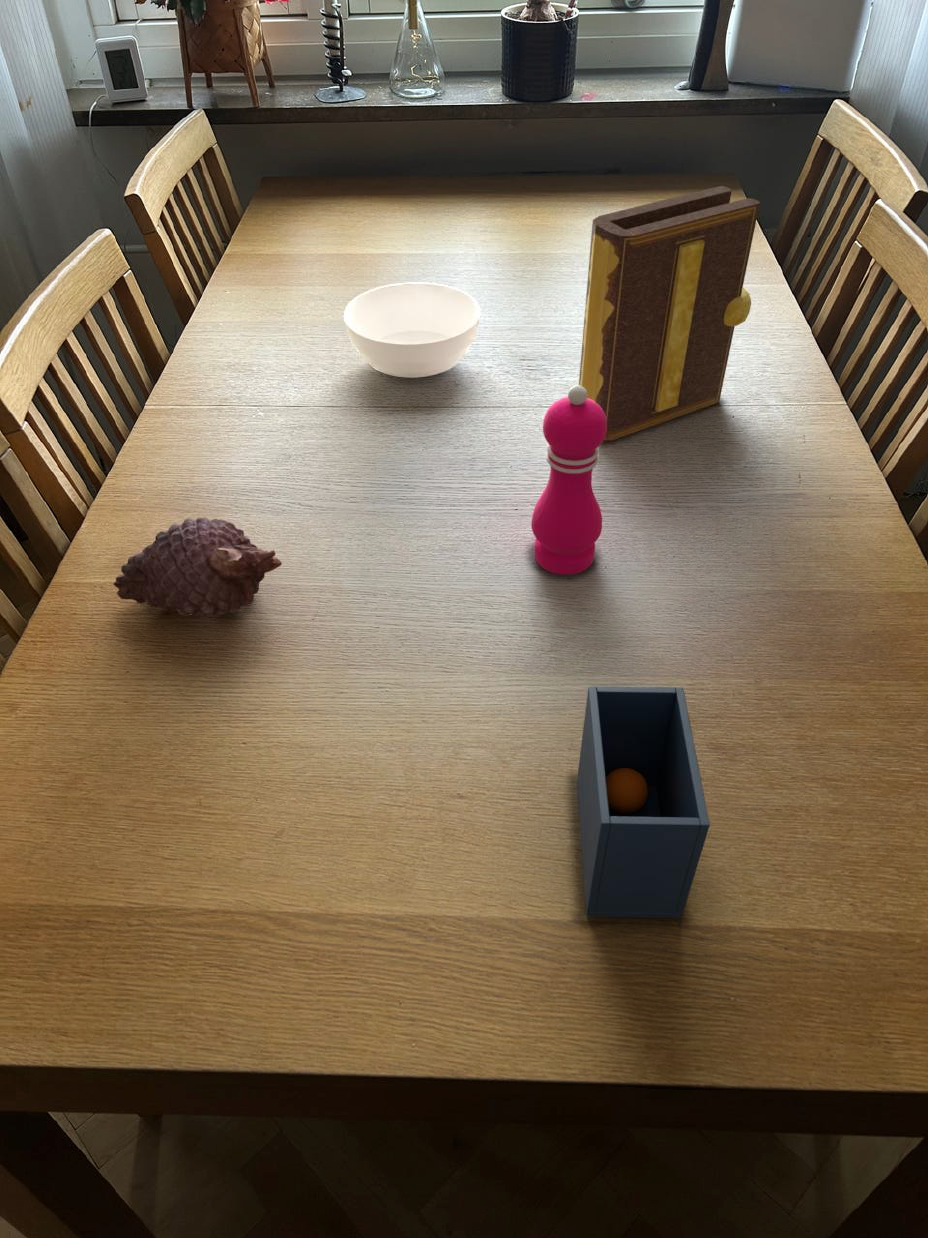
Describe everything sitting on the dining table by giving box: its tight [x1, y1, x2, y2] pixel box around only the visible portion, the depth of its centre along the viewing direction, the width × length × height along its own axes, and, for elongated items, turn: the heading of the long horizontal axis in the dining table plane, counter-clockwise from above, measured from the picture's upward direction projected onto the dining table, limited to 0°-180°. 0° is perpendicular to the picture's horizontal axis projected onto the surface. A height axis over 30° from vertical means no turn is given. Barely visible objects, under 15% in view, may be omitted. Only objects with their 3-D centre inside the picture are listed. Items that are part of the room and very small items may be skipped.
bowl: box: [343, 282, 481, 378], centre depth 126 cm, size 18×18×7 cm
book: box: [578, 185, 761, 443], centre depth 110 cm, size 22×8×25 cm, turn 120°
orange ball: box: [606, 768, 648, 814], centre depth 73 cm, size 4×4×4 cm
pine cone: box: [112, 517, 283, 619], centre depth 91 cm, size 18×10×10 cm
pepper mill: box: [530, 384, 607, 576], centre depth 91 cm, size 7×7×20 cm
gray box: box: [576, 685, 711, 919], centre depth 68 cm, size 7×12×12 cm, turn 178°
